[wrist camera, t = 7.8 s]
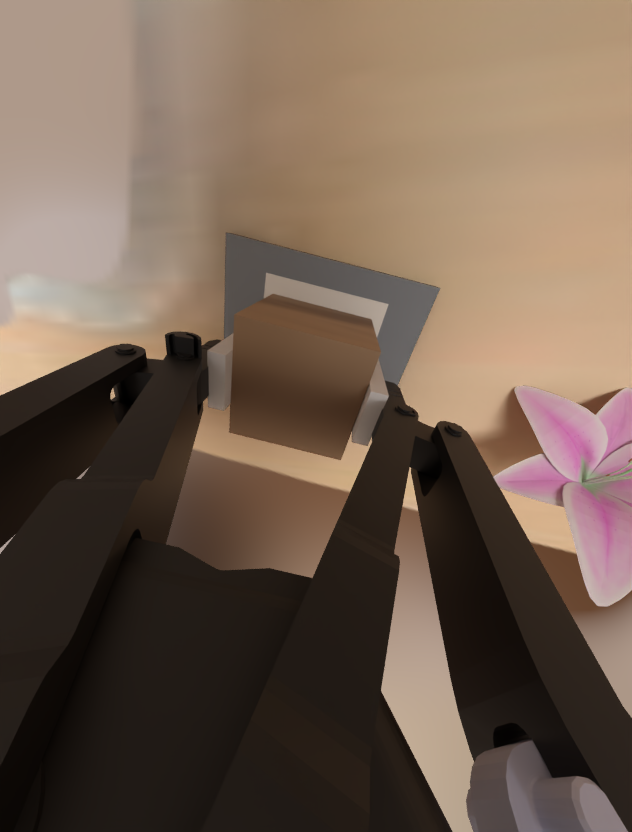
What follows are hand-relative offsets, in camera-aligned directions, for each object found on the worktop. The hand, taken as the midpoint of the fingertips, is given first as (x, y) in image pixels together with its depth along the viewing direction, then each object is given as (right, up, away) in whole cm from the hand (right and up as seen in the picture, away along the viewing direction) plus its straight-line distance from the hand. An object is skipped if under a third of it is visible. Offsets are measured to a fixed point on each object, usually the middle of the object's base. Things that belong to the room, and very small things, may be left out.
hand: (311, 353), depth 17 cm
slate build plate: (0, +1, +1) cm, 1 cm away
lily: (+18, -5, +2) cm, 19 cm away
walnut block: (0, 0, 0) cm, 0 cm away
